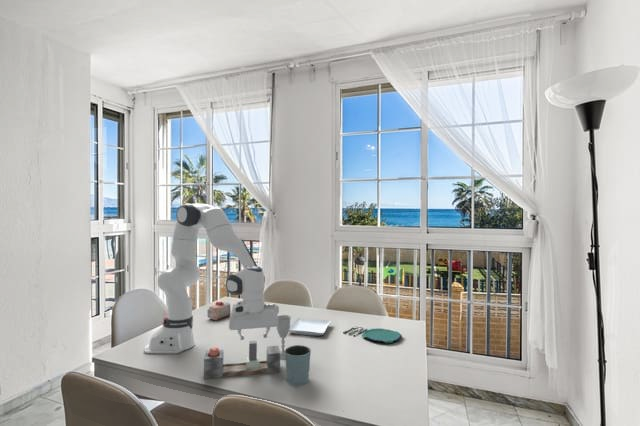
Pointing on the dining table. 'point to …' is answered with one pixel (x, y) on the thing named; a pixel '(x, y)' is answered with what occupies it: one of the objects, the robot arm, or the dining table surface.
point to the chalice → (283, 331)
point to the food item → (219, 311)
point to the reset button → (214, 352)
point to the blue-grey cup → (297, 364)
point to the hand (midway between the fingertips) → (253, 338)
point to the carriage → (252, 356)
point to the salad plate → (309, 326)
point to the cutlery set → (378, 335)
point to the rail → (240, 365)
